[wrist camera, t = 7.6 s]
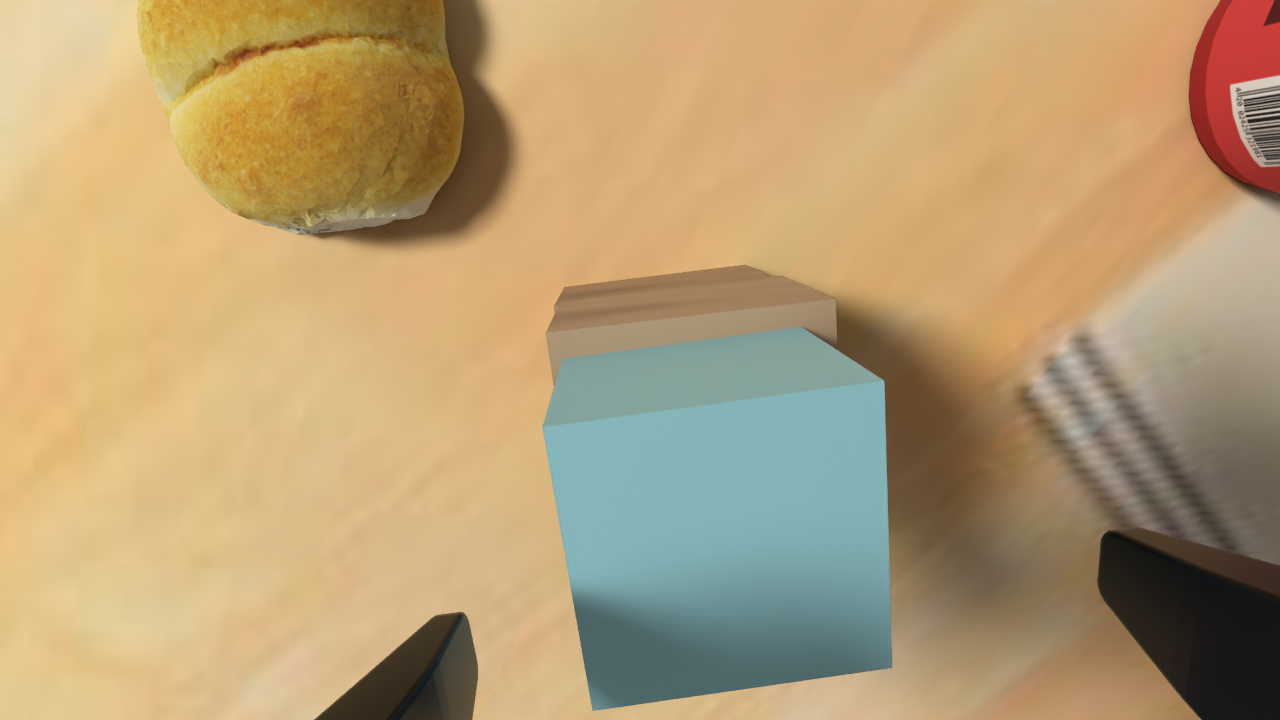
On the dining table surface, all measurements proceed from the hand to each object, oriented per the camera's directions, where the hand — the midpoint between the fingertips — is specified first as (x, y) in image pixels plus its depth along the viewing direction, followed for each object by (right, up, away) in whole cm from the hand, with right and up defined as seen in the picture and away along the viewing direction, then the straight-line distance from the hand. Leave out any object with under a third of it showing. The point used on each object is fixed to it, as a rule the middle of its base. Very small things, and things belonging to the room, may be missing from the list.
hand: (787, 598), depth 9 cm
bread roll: (-11, +12, +10) cm, 19 cm away
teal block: (-1, +1, +5) cm, 5 cm away
